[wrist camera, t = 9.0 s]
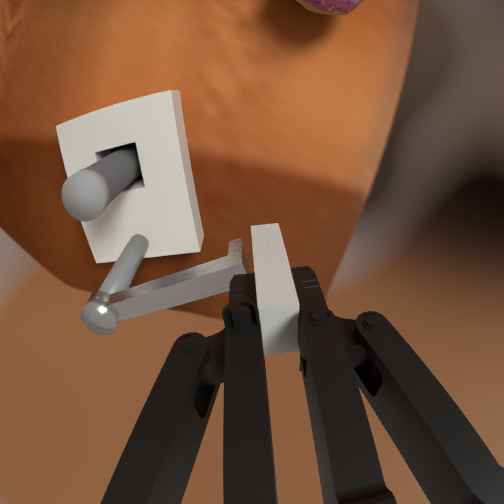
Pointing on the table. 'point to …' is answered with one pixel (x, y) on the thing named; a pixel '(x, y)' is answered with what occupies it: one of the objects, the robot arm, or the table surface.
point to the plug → (100, 183)
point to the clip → (166, 291)
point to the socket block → (138, 183)
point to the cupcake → (330, 6)
